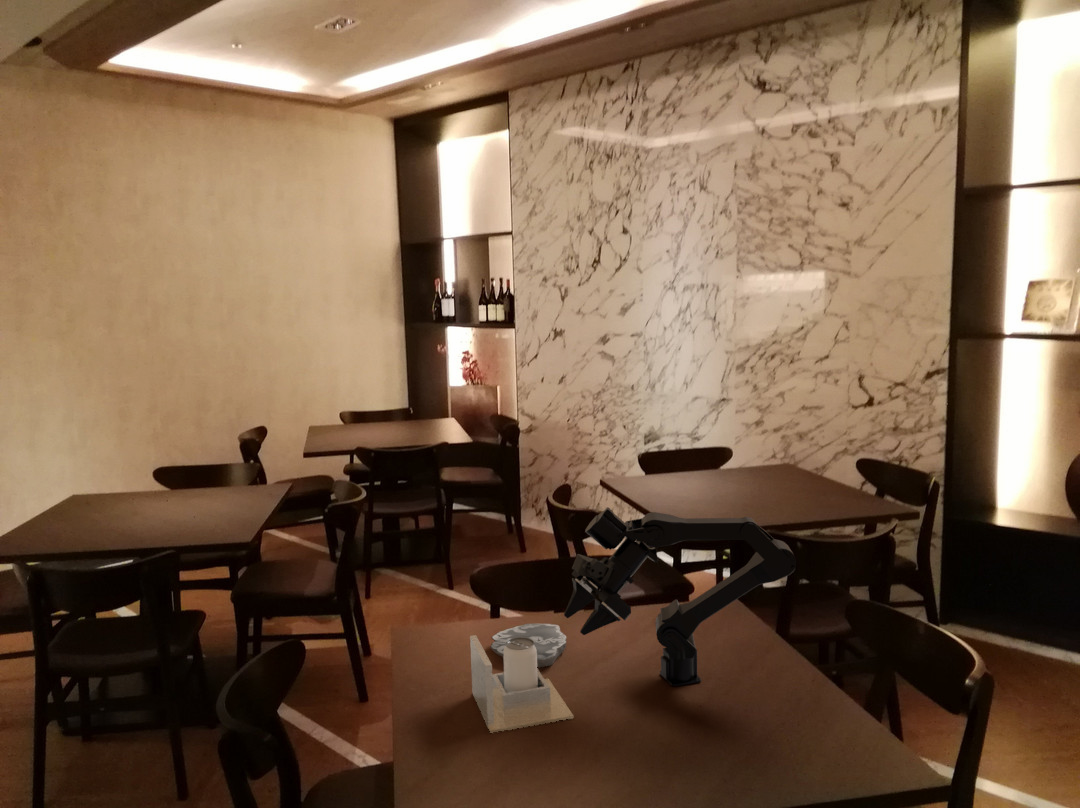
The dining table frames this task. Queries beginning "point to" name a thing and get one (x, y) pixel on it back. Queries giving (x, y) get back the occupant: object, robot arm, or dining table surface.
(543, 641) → the brain slice
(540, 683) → the cup bracket
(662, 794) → the dining table surface
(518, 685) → the can
